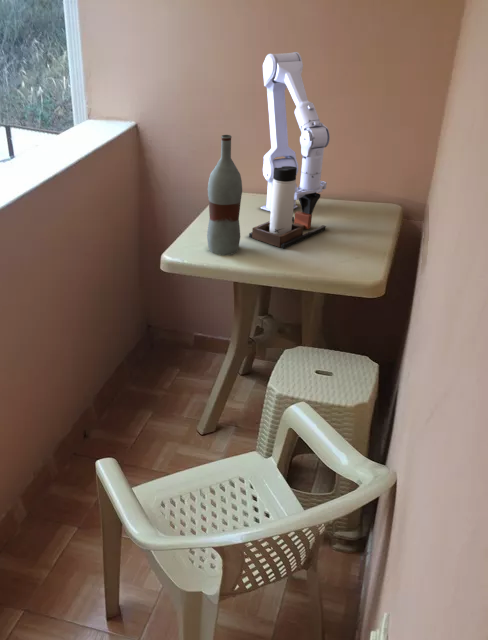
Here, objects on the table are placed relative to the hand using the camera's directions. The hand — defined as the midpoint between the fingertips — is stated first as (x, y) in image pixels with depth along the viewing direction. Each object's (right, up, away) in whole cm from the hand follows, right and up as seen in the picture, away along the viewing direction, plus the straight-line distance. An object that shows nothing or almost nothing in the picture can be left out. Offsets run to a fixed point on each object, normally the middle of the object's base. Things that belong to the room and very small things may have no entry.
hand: (306, 218), depth 195 cm
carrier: (-7, -6, -5) cm, 10 cm away
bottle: (-26, -13, -13) cm, 32 cm away
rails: (-6, -6, -4) cm, 9 cm away
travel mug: (-9, -7, -6) cm, 13 cm away
